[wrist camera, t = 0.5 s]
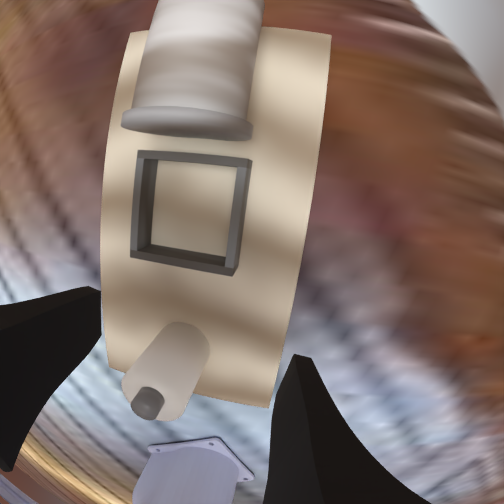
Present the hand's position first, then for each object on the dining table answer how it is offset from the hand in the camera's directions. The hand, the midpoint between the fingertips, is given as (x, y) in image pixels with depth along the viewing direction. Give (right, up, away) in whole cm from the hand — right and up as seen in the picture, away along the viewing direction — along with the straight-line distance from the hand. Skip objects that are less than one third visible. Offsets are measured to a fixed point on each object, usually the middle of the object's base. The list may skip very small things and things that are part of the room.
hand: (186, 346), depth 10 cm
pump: (-3, -4, +11) cm, 12 cm away
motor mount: (-2, +4, +10) cm, 11 cm away
